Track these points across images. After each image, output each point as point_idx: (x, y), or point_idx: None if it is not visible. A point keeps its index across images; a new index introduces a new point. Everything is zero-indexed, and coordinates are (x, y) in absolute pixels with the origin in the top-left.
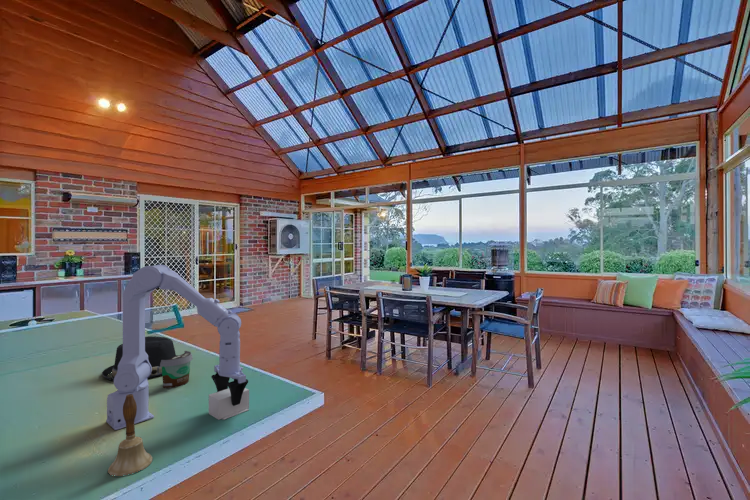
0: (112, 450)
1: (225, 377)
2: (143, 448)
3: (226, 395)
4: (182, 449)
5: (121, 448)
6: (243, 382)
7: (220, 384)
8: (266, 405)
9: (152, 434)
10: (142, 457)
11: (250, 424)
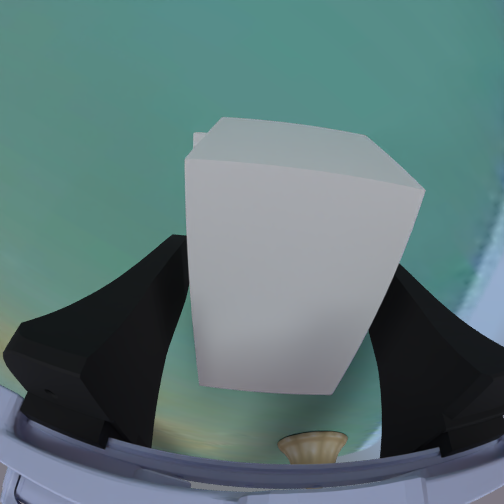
0: (227, 440)
1: (128, 382)
2: (329, 462)
3: (321, 355)
4: (362, 406)
5: None
6: (500, 407)
7: (156, 361)
8: (431, 50)
9: (220, 410)
10: (337, 452)
11: (478, 259)
